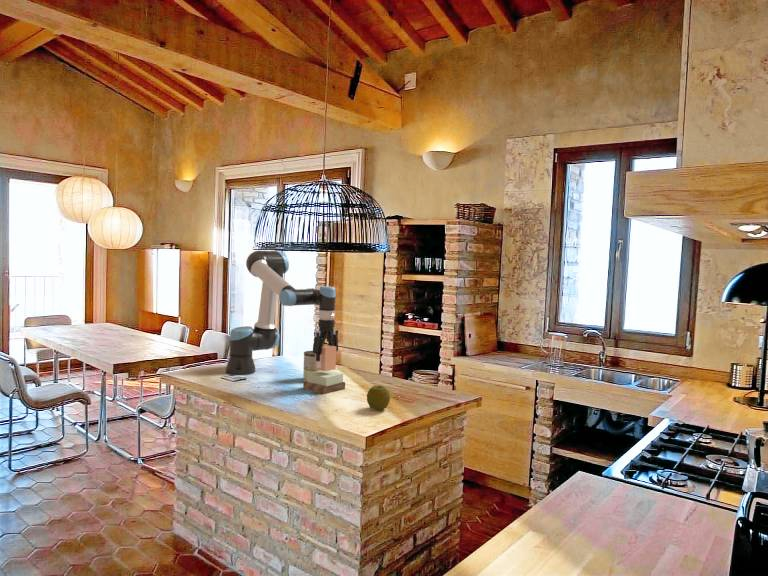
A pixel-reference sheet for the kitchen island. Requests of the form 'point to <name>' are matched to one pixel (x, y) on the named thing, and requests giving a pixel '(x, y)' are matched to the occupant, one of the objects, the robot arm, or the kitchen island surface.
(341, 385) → the walnut block
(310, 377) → the sage block
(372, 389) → the apple
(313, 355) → the coffee can
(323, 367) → the terracotta block
